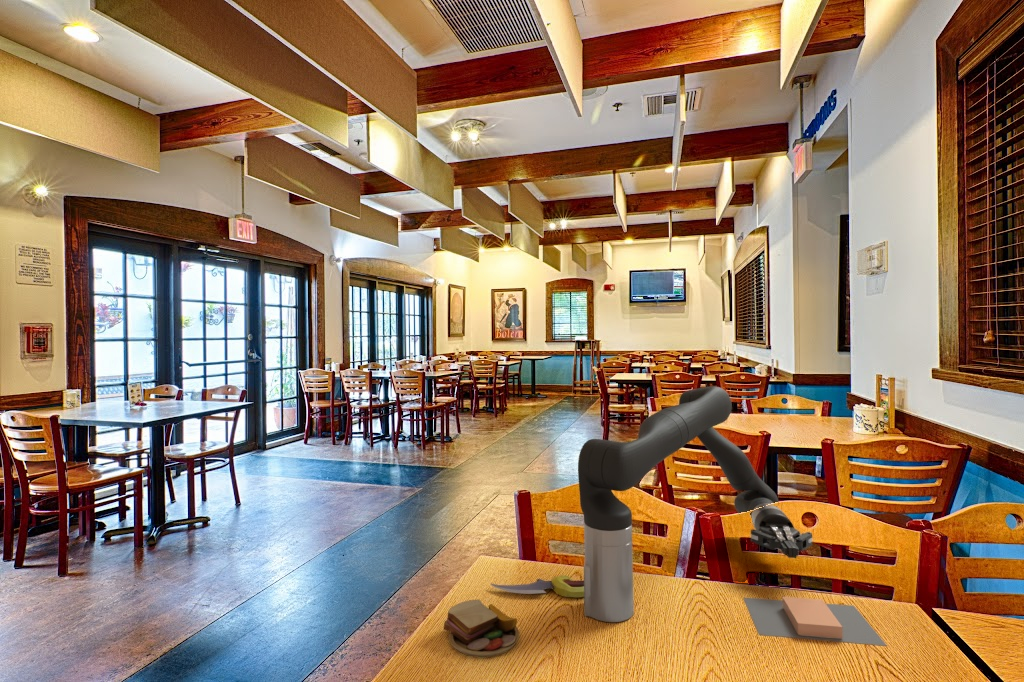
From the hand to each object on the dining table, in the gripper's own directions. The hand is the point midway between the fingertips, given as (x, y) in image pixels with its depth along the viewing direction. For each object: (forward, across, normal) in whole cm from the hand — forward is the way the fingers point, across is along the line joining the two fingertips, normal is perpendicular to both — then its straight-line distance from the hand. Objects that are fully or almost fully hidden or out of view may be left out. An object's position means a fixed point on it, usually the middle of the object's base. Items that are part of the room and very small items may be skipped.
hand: (792, 553), depth 111 cm
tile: (+7, 0, +7) cm, 10 cm away
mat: (+10, 0, +9) cm, 14 cm away
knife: (+5, -49, +10) cm, 50 cm away
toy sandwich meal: (+26, -58, +9) cm, 64 cm away
